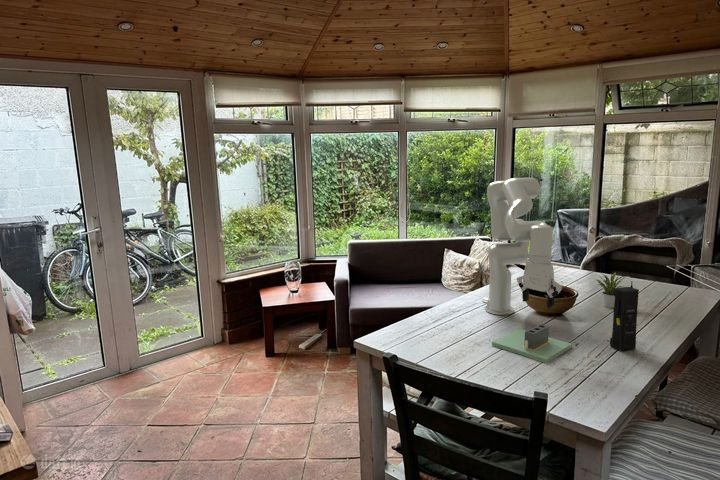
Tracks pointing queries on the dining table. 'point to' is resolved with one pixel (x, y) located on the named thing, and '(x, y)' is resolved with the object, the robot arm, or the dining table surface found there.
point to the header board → (541, 353)
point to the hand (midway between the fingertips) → (537, 303)
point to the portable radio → (624, 318)
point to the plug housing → (536, 336)
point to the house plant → (609, 290)
